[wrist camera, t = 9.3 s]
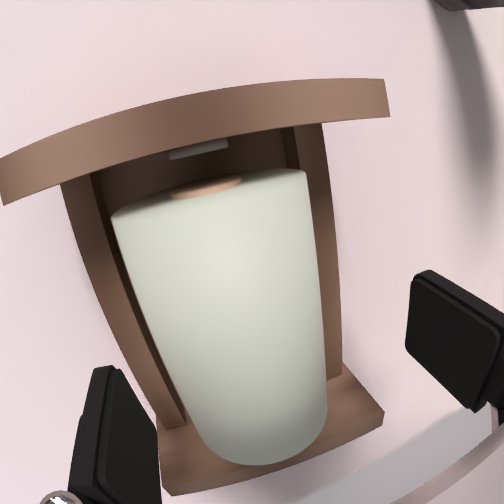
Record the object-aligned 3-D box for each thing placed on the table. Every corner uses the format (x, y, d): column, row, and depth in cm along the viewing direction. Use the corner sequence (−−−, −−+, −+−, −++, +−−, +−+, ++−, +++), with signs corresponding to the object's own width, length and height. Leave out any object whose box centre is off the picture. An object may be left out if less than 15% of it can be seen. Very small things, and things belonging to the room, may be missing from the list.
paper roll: (124, 196, 11) (87, 236, 6) (268, 161, 13) (345, 173, 7) (192, 388, 15) (210, 482, 10) (298, 356, 16) (350, 435, 11)
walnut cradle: (302, 100, 13) (383, 79, 8) (331, 362, 18) (381, 425, 13) (61, 155, 11) (-7, 162, 5) (162, 414, 16) (171, 496, 11)
